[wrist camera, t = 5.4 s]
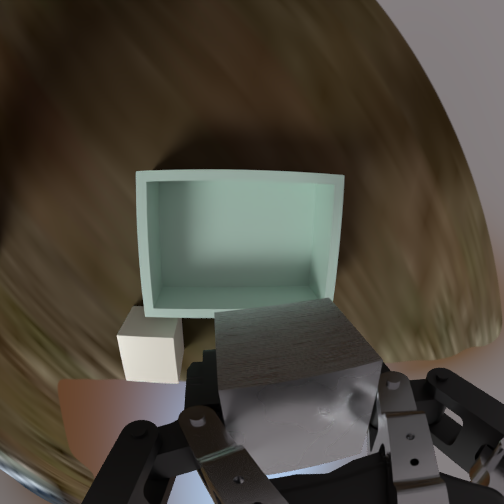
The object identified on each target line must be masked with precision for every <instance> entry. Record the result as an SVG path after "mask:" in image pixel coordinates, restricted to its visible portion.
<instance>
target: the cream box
mask: <svg viewBox="0 0 504 504" xmlns="http://www.w3.org/2000/svg"><path fill="white" fill-rule="evenodd" d="M117 339H118V344H119V349H120V354H121V358H122V363H123V367H124V372H125V376H126V380H127V381H139V382H140V381H141V382H154V383H175V384H178V383H179V378H180V372H181V365H182V359H183V353H184V341H183V329H182V318H166V317H145V312H144V306H133V307H132V309H131V311H130V313H129V314H128V316H127V318H126V320H125V321H124V323H123V325H122V327H121V329H120V330H119V332H118V334H117Z"/></svg>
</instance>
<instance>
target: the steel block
mask: <svg viewBox="0 0 504 504" xmlns="http://www.w3.org/2000/svg"><path fill="white" fill-rule="evenodd" d="M214 317H215V340H216V360H217V377H218V392H219V397H220V402H221V407H222V412H223V417H224V422H225V427H226V430H227V431H228V432H229V434H230V435H231V437H232V438H233V440H234V441H235V443H236V444H237V445H238V446H239V445H242V446H243V447H244V448H245V449H246V450H247V451H248V453H249V454H250V455H251V457H252V458H253V459H254V461H255V462H256V463H257V465H258V466H259V467H260V469H261V470H262V471H263V473H264V474H265V475H270V474H276V473H282V472H287V471H293V470H297V469H302V468H307V467H312V466H316V465H320V464H324V463H328V462H332V461H336V460H339V459H343V458H346V457H350V456H353V455H356V454H359V453H361V450H362V447H363V443H364V440H365V436H366V433H367V429H368V425H369V421H370V418H371V414H372V409H373V405H374V401H375V397H376V392H377V387H378V383H379V378H380V373H381V367H382V362H383V360H382V358H381V357H380V356H379V355H378V354H377V353H376V351H375V350H374V349H373V348H372V347H371V345H370V344H369V343H368V342H367V341H366V340H365V338H364V337H363V336H362V335H361V334H360V333H359V331H358V330H357V329H356V328H355V327H354V326H353V325H352V323H351V322H350V321H349V320H348V319H347V318H346V316H345V315H344V314H343V313H342V312H341V311H340V310H339V308H338V307H337V306H336V305H335V304H334V303H333V302H332V300H331V299H330V298H329V297H328V298H322V299H315V300H309V301H302V302H295V303H287V304H280V305H273V306H265V307H257V308H249V309H240V310H232V311H223V312H214Z"/></svg>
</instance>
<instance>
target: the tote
mask: <svg viewBox="0 0 504 504" xmlns="http://www.w3.org/2000/svg"><path fill="white" fill-rule="evenodd" d="M344 176H345V175H335V174H323V173H309V172H292V171H269V170H231V169H189V170H151V171H136V207H137V232H138V248H139V262H140V274H141V285H142V295H143V304H144V312H145V317H166V318H215V317H214V312H223V311H232V310H240V309H249V308H257V307H265V306H273V305H280V304H287V303H295V302H302V301H309V300H315V299H322V298H328V297H329V298H330V299H331V300H332V302H333V297H334V289H335V281H336V272H337V264H338V254H339V244H340V233H341V222H342V209H343V194H344Z"/></svg>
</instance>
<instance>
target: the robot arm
mask: <svg viewBox="0 0 504 504" xmlns="http://www.w3.org/2000/svg"><path fill="white" fill-rule="evenodd" d="M446 407H447V408H448V409H450V410H451V411H453V412H454V413H455V414H457V415H458V416H460V417H461V419H462V421H463V427H462V426H461V425H460V424H458V423H457V422H456V421H454V420H453V419H451V418H450V417H449V416H448V415H446V414H445V413H444V411H445V409H446ZM433 445H435V446H436V447H437V448H438V449H439V450H441V451H442V452H443V453H444V454H445V455H447V456H448V457H449V458H450V459H452V460H453V461H454V462H455V463H457V464H458V465H459V466H460V467H461V468H463V469H464V470H465V471H466V472H468V473H469V477H470V480H471V481H470V482H469V481H466V480H462V479H459V478H456V477H453V476H450V475H447V474H444V473H441V472H439V470H438V465H437V461H436V456H435V451H434V447H433ZM367 450H368V451H367V452H368V456H365V457H362V458H359V459H356V460H353V461H351V462H349V463H348V464H345V465H343V466H342V467H340V468H338V469H336V470H334V471H332V472H330V473H326V474H296V475H291V476H285V477H280V478H274V479H268V478H267V476H266V475H265V474H264V473H263V471H262V470H261V469H260V467H259V466H258V465H257V463H256V462H255V461H254V459H253V458H252V457H251V455H250V454H249V453H248V451H247V450H246V449H245V448H244V447H243V446H242V445H239V446H238V445H237V444H236V443H235V441H234V440H233V438H232V437H231V435H230V434H229V432H228V431H227V430H226V427H225V422H224V417H223V412H222V407H221V402H220V397H219V392H218V377H217V360H216V349H213V350H203V362H192V364H191V365H190V367H189V368H188V369H187V379H186V392H185V407H184V410H183V411H182V412H181V413H180V415H179V418H178V420H176V421H175V422H173V423H170V424H167V425H163V426H160V427H157V426H156V425H155V424H154V423H152V422H150V421H145V420H138V421H134V422H131V423H129V424H128V425H127V426H125V427H124V429H123V430H122V432H121V434H120V435H119V437H118V439H117V441H116V442H115V444H114V446H113V448H112V449H111V451H110V453H109V455H108V456H107V458H106V460H105V462H104V464H103V465H102V467H101V469H100V471H99V473H98V474H97V476H96V478H95V480H94V482H93V483H92V485H91V487H90V489H89V491H88V492H87V494H86V496H85V498H84V500H83V502H82V503H81V504H167V501H168V498H169V496H170V492H171V490H172V487H173V484H174V481H175V478H176V476H177V475H181V474H184V473H188V472H191V471H194V470H197V472H198V474H199V476H200V478H201V479H202V481H203V483H204V485H205V486H206V489H207V490H208V492H209V494H210V496H211V497H212V499H213V501H214V503H215V504H504V404H502V403H501V402H499V401H498V400H496V399H495V398H493V397H491V396H490V395H488V394H487V393H485V392H484V391H482V390H480V389H479V388H477V387H476V386H474V385H473V384H471V383H469V382H468V381H466V380H464V379H463V378H462V377H460V376H458V375H457V374H455V373H453V372H452V371H450V370H448V369H445V368H434V369H432V370H430V371H429V372H428V374H427V377H426V379H420V380H409V379H408V377H407V376H406V375H404V374H402V373H400V372H395V371H390V369H389V368H388V367H387V366H386V365H385V364H384V362H382V367H381V373H380V378H379V383H378V387H377V392H376V397H375V401H374V405H373V409H372V414H371V418H370V421H369V425H368V429H367Z"/></svg>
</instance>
